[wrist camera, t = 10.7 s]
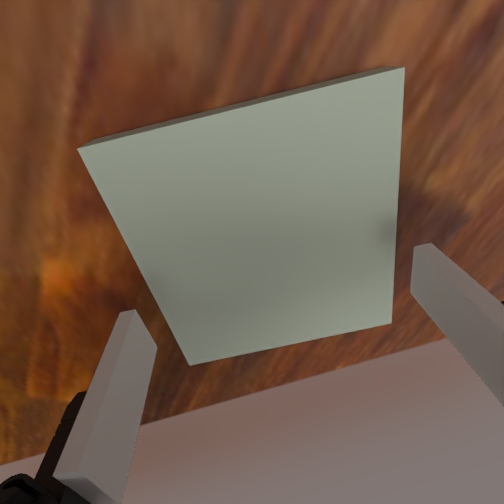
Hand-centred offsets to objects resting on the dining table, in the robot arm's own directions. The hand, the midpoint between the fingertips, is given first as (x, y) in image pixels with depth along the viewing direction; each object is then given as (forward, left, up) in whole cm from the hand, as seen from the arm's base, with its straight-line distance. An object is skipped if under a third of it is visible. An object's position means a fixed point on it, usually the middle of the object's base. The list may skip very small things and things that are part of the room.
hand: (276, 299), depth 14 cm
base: (0, 0, -6) cm, 6 cm away
